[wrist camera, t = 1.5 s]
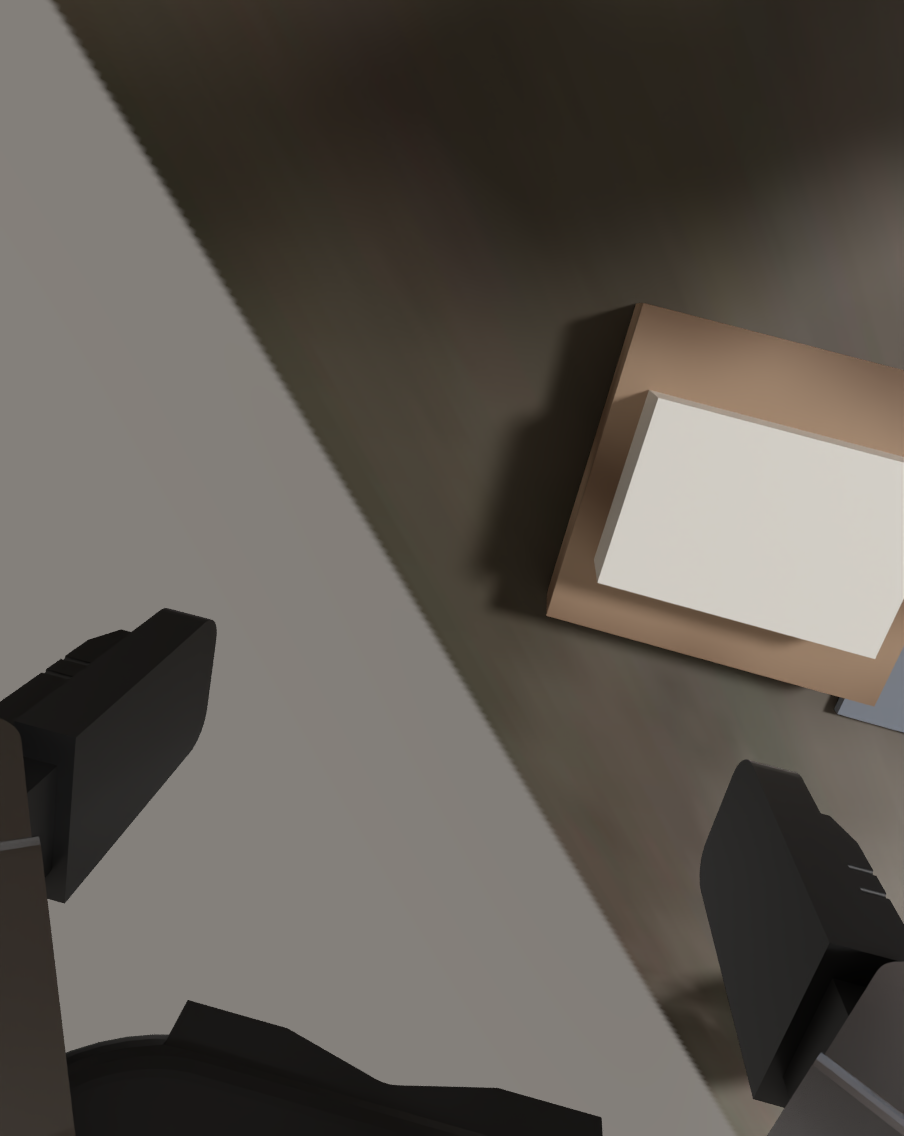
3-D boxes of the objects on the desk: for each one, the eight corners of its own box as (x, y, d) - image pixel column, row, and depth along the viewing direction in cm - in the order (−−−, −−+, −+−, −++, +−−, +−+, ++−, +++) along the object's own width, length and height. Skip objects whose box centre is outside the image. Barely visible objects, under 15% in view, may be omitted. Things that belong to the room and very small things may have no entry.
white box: (649, 389, 25) (658, 398, 23) (923, 462, 25) (961, 477, 23) (593, 559, 27) (597, 582, 25) (847, 628, 27) (874, 659, 25)
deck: (635, 303, 27) (643, 303, 25) (981, 393, 27) (1022, 401, 24) (547, 592, 31) (546, 615, 28) (849, 675, 30) (874, 706, 28)
